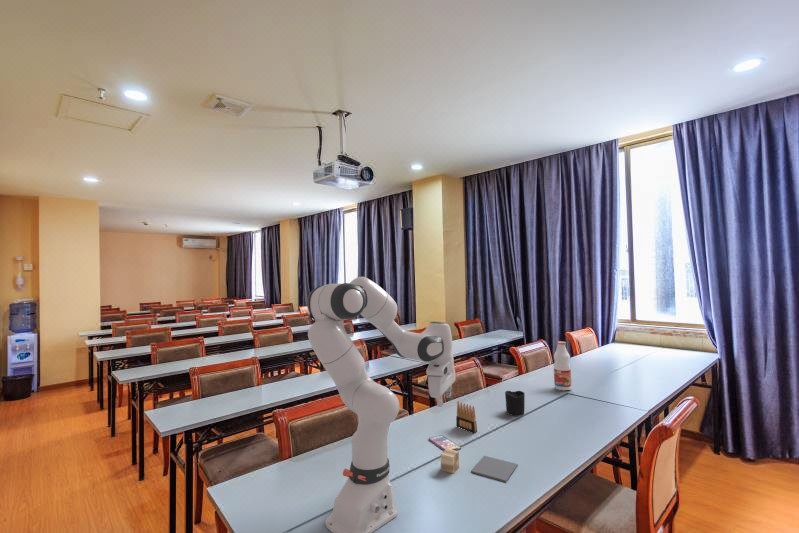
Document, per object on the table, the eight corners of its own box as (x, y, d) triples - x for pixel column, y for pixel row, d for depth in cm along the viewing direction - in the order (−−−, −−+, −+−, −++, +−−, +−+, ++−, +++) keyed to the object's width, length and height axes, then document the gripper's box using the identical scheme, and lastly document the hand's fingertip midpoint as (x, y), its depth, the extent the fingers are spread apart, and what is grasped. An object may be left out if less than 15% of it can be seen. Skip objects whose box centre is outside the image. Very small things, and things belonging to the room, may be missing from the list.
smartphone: (441, 436, 170) (462, 450, 156) (427, 440, 166) (447, 454, 153) (441, 434, 170) (462, 447, 156) (427, 438, 166) (447, 451, 153)
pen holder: (518, 417, 187) (517, 397, 187) (502, 412, 194) (501, 393, 194) (528, 412, 193) (528, 392, 193) (512, 408, 200) (511, 388, 200)
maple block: (453, 473, 138) (452, 457, 138) (441, 470, 140) (440, 453, 140) (459, 467, 142) (458, 451, 142) (447, 464, 144) (446, 448, 145)
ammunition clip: (477, 432, 172) (476, 405, 172) (474, 433, 170) (473, 406, 171) (458, 425, 180) (458, 400, 180) (456, 426, 179) (455, 401, 179)
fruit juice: (574, 389, 228) (572, 341, 228) (566, 392, 222) (564, 344, 223) (559, 385, 235) (558, 340, 236) (551, 388, 230) (549, 342, 230)
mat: (506, 482, 131) (506, 480, 131) (470, 472, 138) (470, 470, 138) (517, 465, 142) (517, 464, 142) (484, 457, 149) (484, 455, 149)
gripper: (442, 357, 153) (445, 391, 153) (424, 371, 135) (427, 410, 135) (458, 357, 151) (460, 392, 151) (441, 372, 132) (444, 412, 132)
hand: (444, 401), depth 143 cm, fingers open, 8 cm apart
